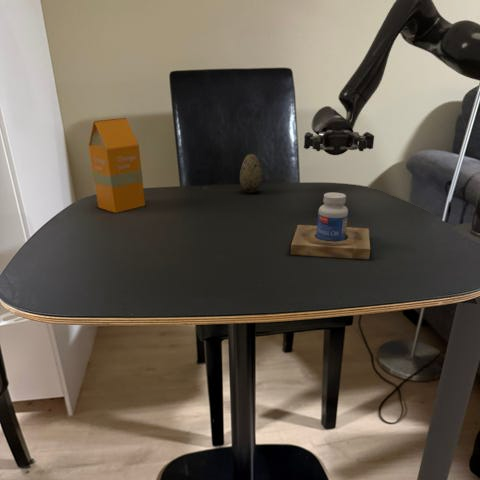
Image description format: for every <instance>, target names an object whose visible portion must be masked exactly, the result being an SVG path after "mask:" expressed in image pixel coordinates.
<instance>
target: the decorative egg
mask: <svg viewBox="0 0 480 480" xmlns="http://www.w3.org/2000/svg"><path fill="white" fill-rule="evenodd" d="M262 182H263V172H262V168H261V164H260V161H259V159H258V158H257V156H256V155H255V154H253V153H249V154H247V155H246V156H245V157H244V159H243V162H242V164H241V167H240V172H239V183H240V187H241V188H242V189H243V190H244V191H245V192H246V193H249V194H250V193H251V194H253V193H255V192H257V191H259V189H260V187H261V186H262Z"/></svg>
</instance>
